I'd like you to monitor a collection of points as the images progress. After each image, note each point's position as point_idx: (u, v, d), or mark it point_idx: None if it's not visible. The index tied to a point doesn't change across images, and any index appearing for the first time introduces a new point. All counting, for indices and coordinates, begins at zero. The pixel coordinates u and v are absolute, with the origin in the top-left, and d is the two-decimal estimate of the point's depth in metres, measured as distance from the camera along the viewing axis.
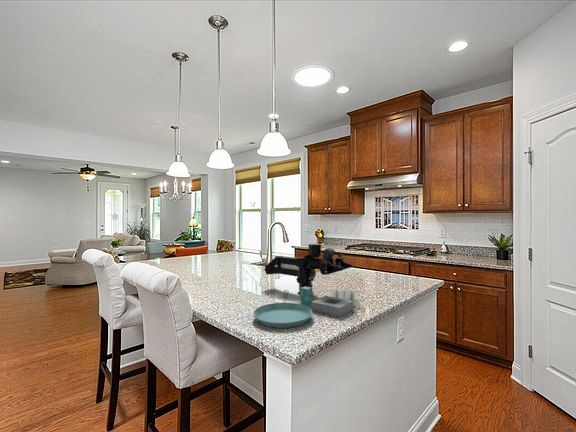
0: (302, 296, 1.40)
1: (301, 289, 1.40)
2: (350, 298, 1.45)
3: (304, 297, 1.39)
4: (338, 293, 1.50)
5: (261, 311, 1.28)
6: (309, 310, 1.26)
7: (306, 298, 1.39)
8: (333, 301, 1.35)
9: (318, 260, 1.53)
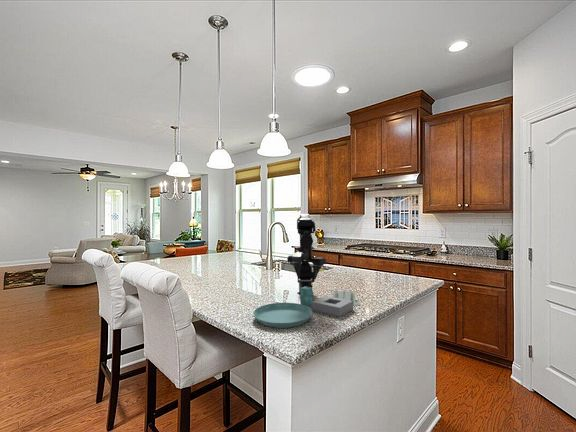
0: (302, 296, 1.40)
1: (301, 289, 1.40)
2: (350, 298, 1.44)
3: (304, 297, 1.39)
4: (338, 293, 1.49)
5: (261, 311, 1.28)
6: (309, 310, 1.26)
7: (306, 298, 1.39)
8: (333, 301, 1.35)
9: (300, 245, 1.40)
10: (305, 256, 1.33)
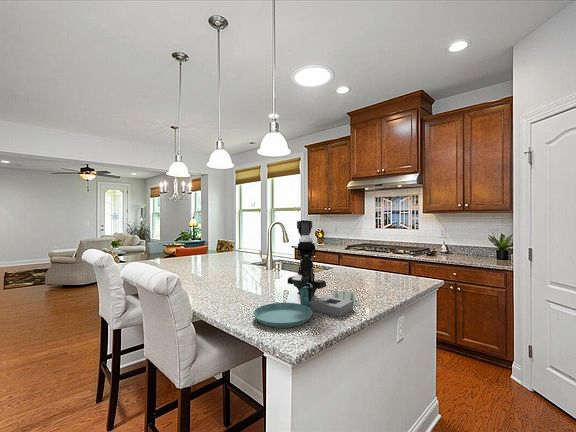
0: (302, 296, 1.40)
1: (301, 289, 1.40)
2: (350, 299, 1.44)
3: (304, 297, 1.39)
4: (338, 294, 1.49)
5: (261, 311, 1.28)
6: (309, 310, 1.26)
7: (306, 298, 1.39)
8: (333, 301, 1.35)
9: (300, 267, 1.40)
10: (305, 280, 1.33)
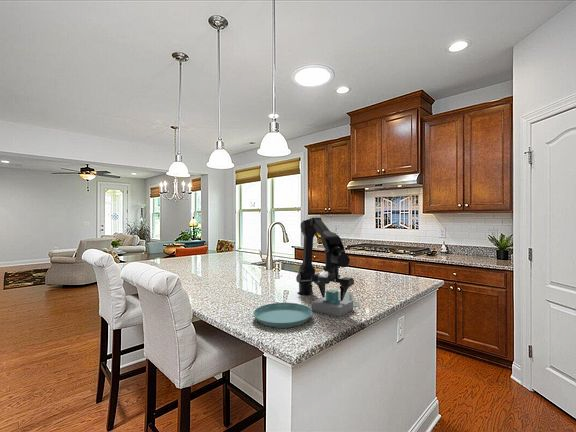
0: (328, 300, 1.31)
1: (327, 292, 1.31)
2: None
3: (331, 302, 1.30)
4: None
5: (261, 311, 1.28)
6: (309, 310, 1.26)
7: (332, 303, 1.30)
8: None
9: (325, 264, 1.31)
10: (333, 277, 1.24)
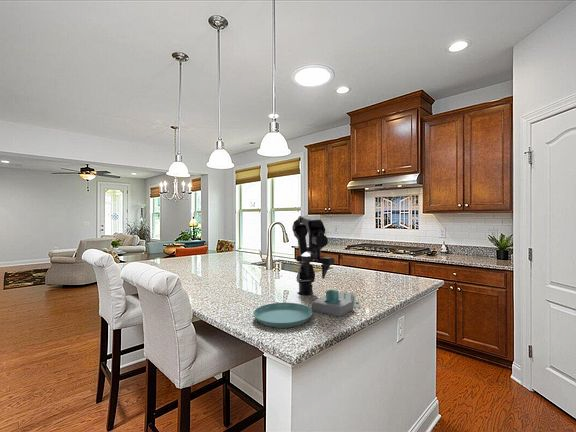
0: (328, 300, 1.31)
1: (327, 292, 1.31)
2: None
3: (331, 302, 1.30)
4: (338, 295, 1.46)
5: (261, 311, 1.28)
6: (309, 310, 1.26)
7: (332, 303, 1.30)
8: None
9: (309, 245, 1.44)
10: (314, 256, 1.37)
